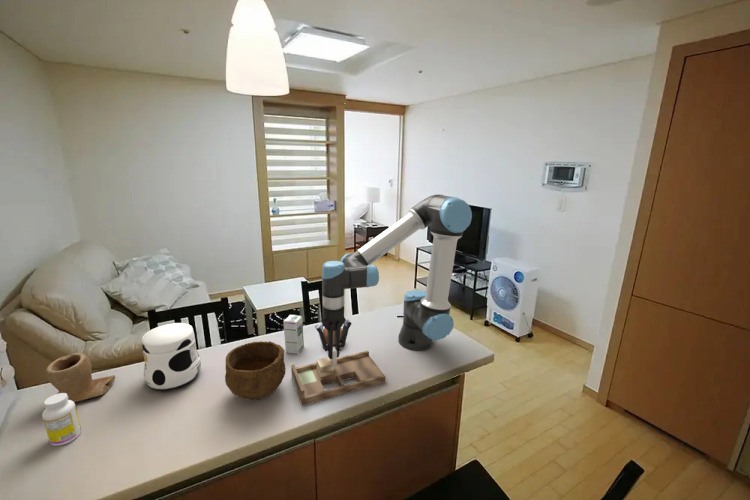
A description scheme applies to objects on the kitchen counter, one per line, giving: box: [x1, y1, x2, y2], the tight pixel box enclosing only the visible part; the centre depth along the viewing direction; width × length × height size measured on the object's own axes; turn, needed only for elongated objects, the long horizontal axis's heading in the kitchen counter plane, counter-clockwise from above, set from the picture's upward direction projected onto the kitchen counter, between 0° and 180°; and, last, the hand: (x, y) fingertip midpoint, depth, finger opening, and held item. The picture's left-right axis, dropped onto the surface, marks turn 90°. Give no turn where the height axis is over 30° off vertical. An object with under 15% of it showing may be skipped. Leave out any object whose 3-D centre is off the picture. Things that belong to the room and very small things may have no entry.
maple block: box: [316, 356, 334, 377], centre depth 121 cm, size 5×5×4 cm
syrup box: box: [283, 314, 305, 355], centre depth 138 cm, size 6×6×14 cm
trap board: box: [290, 350, 387, 407], centre depth 121 cm, size 30×16×6 cm, turn 115°
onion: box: [322, 327, 343, 347], centre depth 144 cm, size 10×9×10 cm
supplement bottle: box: [41, 393, 82, 447], centre depth 93 cm, size 7×7×13 cm
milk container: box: [141, 322, 202, 391], centre depth 118 cm, size 17×17×18 cm
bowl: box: [224, 341, 286, 401], centre depth 112 cm, size 19×19×15 cm
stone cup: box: [45, 352, 116, 403], centre depth 109 cm, size 15×12×15 cm
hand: (333, 365), depth 123 cm, fingers closed
